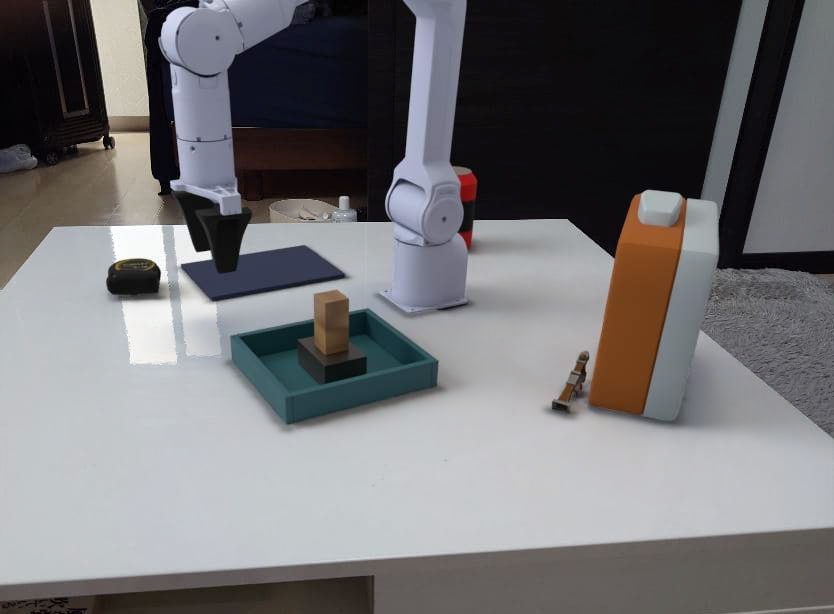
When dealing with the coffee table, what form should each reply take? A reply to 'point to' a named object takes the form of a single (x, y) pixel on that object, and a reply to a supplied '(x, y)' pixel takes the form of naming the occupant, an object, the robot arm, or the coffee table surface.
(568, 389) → the wooden post with brackets
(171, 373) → the coffee table surface
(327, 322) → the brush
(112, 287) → the tape measure
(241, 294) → the pad
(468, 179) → the soda can
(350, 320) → the tray
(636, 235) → the orange and white box
